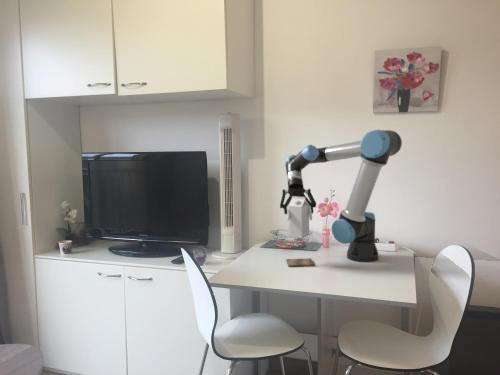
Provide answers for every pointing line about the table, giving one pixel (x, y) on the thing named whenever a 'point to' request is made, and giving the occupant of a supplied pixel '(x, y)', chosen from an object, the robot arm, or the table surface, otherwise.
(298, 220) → the milk carton
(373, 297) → the table surface
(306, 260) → the walnut board
